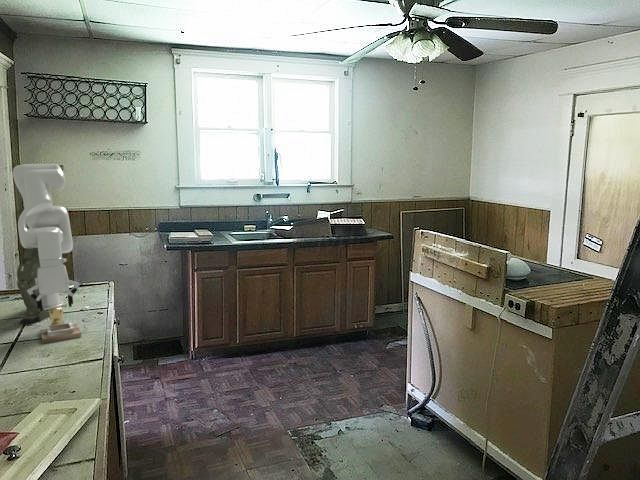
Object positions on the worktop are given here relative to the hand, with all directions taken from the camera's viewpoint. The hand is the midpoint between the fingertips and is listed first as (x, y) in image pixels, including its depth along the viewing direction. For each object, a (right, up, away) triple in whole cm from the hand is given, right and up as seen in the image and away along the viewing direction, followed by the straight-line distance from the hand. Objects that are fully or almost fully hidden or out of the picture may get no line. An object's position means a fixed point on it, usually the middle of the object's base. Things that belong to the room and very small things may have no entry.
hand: (55, 308), depth 190 cm
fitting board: (+6, -9, -8) cm, 13 cm away
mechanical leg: (-13, -6, +10) cm, 18 cm away
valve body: (0, -7, +2) cm, 7 cm away
